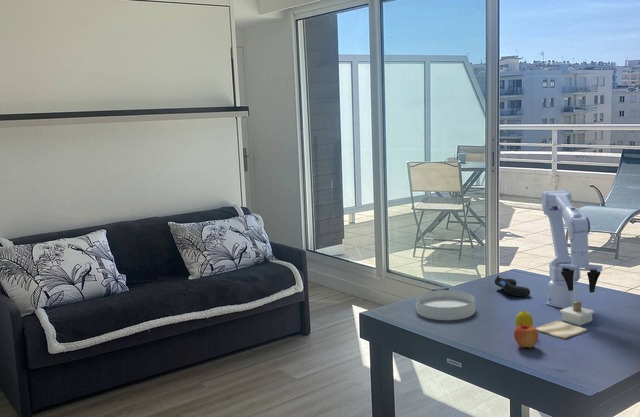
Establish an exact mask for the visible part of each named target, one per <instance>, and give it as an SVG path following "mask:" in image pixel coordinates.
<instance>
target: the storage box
mask: <svg viewBox="0 0 640 417" xmlns="http://www.w3.org/2000/svg"><path fill="white" fill-rule="evenodd" d="M561 320H562V321H561V322H564V323H568V324H571V325H575V326H578V327H581V326H582V325H585V324H589V323H590V322H593V313H592V314H590V315H587V316H584V317H582V318H578V317H575V316H571V315H568V314H564V313H561Z"/></svg>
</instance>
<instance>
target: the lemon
mask: <svg viewBox="0 0 640 417" xmlns="http://www.w3.org/2000/svg"><path fill="white" fill-rule="evenodd" d="M515 317H516V318H515V326H516V327H517V326H519V325H521V323H522V325H530V326H533V327H534V320H533V316H532V315H531V313H530V312H528V311H526V310H522V311H520V312H518V313H517V314H516V316H515ZM516 327H515V328H516Z"/></svg>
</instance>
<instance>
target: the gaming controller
mask: <svg viewBox="0 0 640 417" xmlns="http://www.w3.org/2000/svg"><path fill="white" fill-rule="evenodd" d="M494 284H495V285H496V286H498V287H500V288H501V289H502V290H503V291H504V292H505V293H508V295H510V296H515V297H522V298H528V297H529V296H530V295H531V290H530V289H529V288H528V287H527V286H526V287H524V286H518V285H517V281H516V279H514V278H502V277H500V275H499V274H498V275H497V276H496V278H495V279H494Z"/></svg>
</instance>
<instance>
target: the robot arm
mask: <svg viewBox="0 0 640 417" xmlns="http://www.w3.org/2000/svg"><path fill="white" fill-rule="evenodd" d="M572 201H573V200H572V193H571V191H570V190H569V189H566V190H549V191H548V190H544V191H543V192H542V193H541V201H540V202H541V208H542V211H543V214H544V215H545V216H547V217H548V221H549V225H550V226H549V227H550V231H551V238H552V242H553V243H552V244H553V248H554V249H553V250H554V255H555V258H553V259H552V260H551V261H550V263H549V265H548V266H549V278H550V281H549V282H548V284H547V288H546V289H547V290H546V291H547V292H546V296H547V297H546V299H547V300H546V301H547V302H545V305H548V306H550V307H551V306H552V307H555V308H558V309H559V308H560V309H565V308H568V307H571V306H573V301H576V298H575V297H576V284H578V283H577V282H579V280H581V271H583V272H586V274H587V278H588V284H589V285H588V291H589V293H595V291H596V290H595V289H596V285H597V283H598V279H599V277H600V275H601V273H602V272H603V265H600V264H590V257H589V253H590V252H589V236H588V235H589V233H590V231H591V221H590V219H589V217H588V216H582V213H580V210H579V209H578V208H577V207H576V206H573V205H572ZM564 221H565V224H566V229H567V232H568V233H567V234H568V240H570V242H569V244H570V253H569V248H568V242H567V236H566V231H565V225H564Z"/></svg>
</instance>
